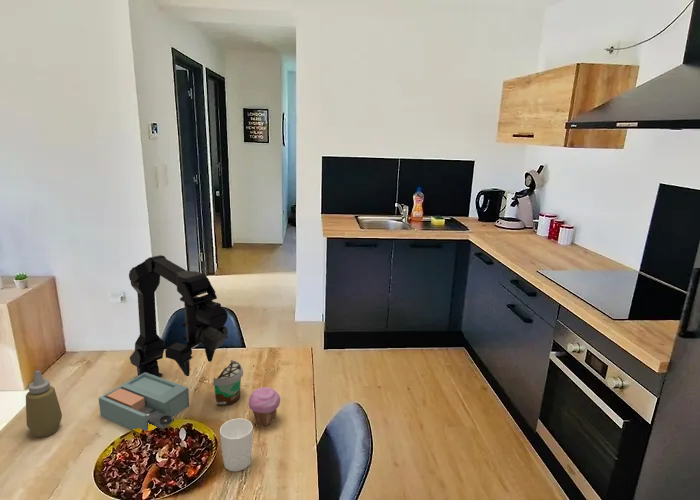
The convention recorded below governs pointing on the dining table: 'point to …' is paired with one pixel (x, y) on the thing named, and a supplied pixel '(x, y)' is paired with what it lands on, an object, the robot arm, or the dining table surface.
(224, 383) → the food container
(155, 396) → the jig
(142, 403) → the salmon orange rectangular block
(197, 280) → the robot arm
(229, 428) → the white cup
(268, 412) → the cupcake
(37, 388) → the squeeze bottle
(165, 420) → the lever
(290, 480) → the dining table surface
